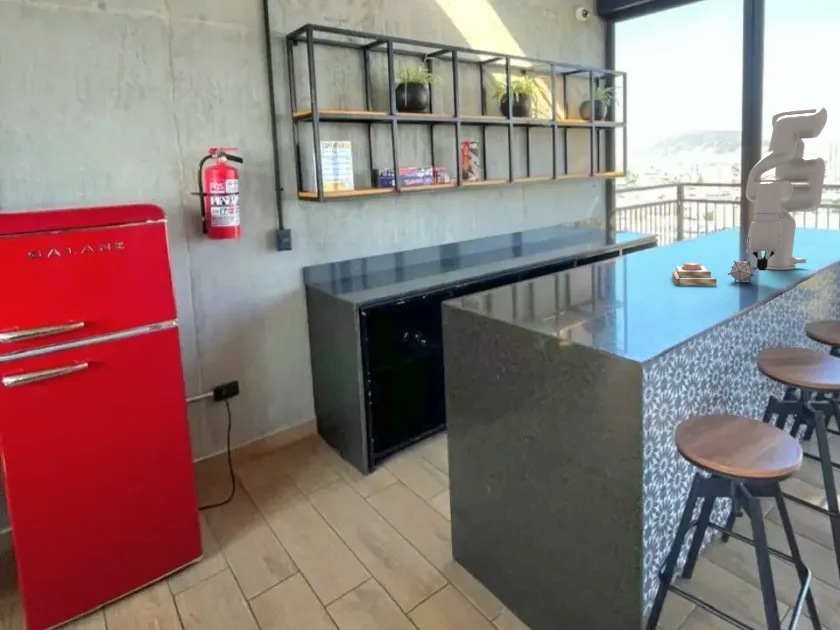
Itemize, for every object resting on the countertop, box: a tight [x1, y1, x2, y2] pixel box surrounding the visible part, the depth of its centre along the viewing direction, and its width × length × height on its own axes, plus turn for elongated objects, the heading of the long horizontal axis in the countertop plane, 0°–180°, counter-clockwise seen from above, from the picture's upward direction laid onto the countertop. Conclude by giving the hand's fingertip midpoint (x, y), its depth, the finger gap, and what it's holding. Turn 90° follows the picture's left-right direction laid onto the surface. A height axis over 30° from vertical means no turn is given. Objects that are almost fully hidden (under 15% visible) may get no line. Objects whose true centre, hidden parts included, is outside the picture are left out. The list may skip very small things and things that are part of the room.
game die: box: [727, 258, 758, 284], centre depth 209 cm, size 9×8×10 cm
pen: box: [671, 270, 718, 287], centre depth 215 cm, size 13×15×2 cm
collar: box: [675, 265, 708, 271], centre depth 226 cm, size 10×10×2 cm
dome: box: [682, 262, 701, 270], centre depth 226 cm, size 6×6×3 cm
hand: (761, 269), depth 207 cm, fingers closed
